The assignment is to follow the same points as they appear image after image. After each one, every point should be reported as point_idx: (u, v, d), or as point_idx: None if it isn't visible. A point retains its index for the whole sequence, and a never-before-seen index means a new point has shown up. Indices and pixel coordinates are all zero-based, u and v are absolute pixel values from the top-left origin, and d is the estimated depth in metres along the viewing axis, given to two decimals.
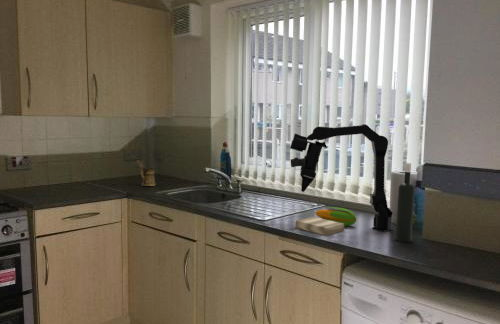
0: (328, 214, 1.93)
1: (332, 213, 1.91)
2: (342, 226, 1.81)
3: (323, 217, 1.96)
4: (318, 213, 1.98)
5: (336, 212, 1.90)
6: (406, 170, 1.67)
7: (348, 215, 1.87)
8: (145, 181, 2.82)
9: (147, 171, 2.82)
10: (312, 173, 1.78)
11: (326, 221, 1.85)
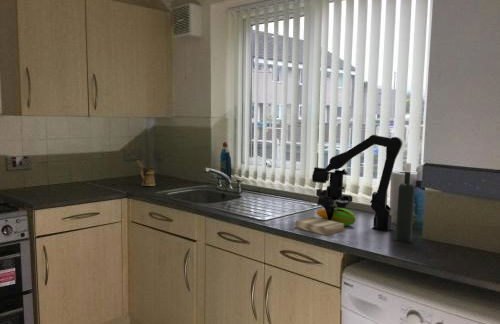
0: None
1: None
2: (342, 226, 1.81)
3: (323, 217, 1.96)
4: (319, 213, 1.99)
5: (335, 212, 1.90)
6: (406, 170, 1.67)
7: (347, 215, 1.87)
8: (145, 181, 2.82)
9: (147, 171, 2.82)
10: (325, 201, 1.86)
11: (326, 221, 1.85)
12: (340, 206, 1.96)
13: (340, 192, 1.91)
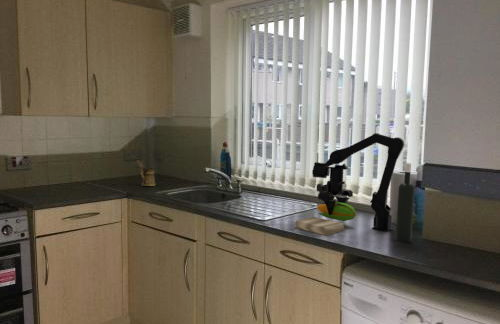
0: None
1: None
2: (342, 226, 1.81)
3: (324, 211, 1.96)
4: (319, 208, 1.98)
5: (336, 206, 1.90)
6: (406, 170, 1.67)
7: (347, 209, 1.87)
8: (145, 181, 2.82)
9: (147, 171, 2.82)
10: (325, 196, 1.86)
11: (326, 221, 1.85)
12: (340, 201, 1.96)
13: (340, 187, 1.91)
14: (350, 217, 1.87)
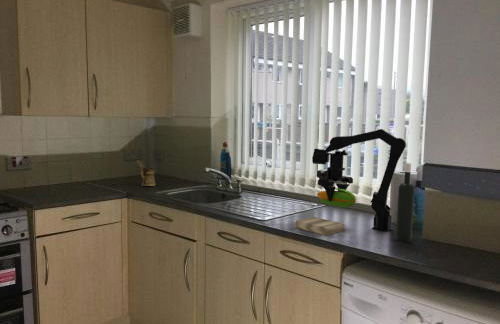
0: None
1: None
2: (342, 226, 1.81)
3: (324, 198, 1.95)
4: (319, 195, 1.97)
5: (336, 193, 1.89)
6: (406, 170, 1.67)
7: (347, 196, 1.86)
8: (145, 181, 2.82)
9: (147, 171, 2.82)
10: (325, 182, 1.85)
11: (326, 221, 1.85)
12: (340, 188, 1.95)
13: (340, 173, 1.90)
14: (350, 203, 1.86)
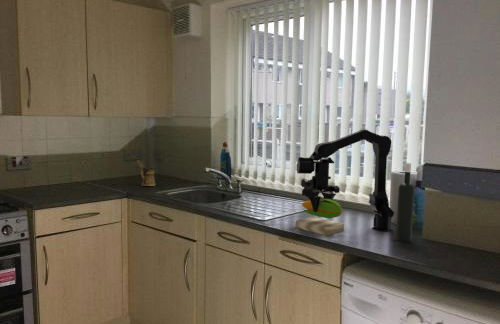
0: None
1: None
2: (342, 226, 1.81)
3: (309, 208, 1.85)
4: (304, 205, 1.87)
5: (321, 203, 1.79)
6: (406, 170, 1.67)
7: (333, 206, 1.76)
8: (145, 181, 2.82)
9: (147, 171, 2.82)
10: (310, 192, 1.75)
11: (326, 221, 1.85)
12: (326, 197, 1.85)
13: (326, 182, 1.80)
14: (336, 214, 1.76)
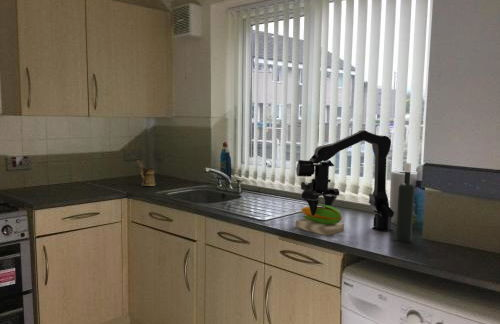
0: None
1: (316, 210, 1.81)
2: (342, 226, 1.81)
3: (308, 215, 1.85)
4: (304, 211, 1.87)
5: (320, 209, 1.79)
6: (406, 170, 1.67)
7: (332, 213, 1.76)
8: (145, 181, 2.82)
9: (147, 171, 2.82)
10: (309, 195, 1.75)
11: None
12: (328, 200, 1.86)
13: (326, 185, 1.80)
14: (335, 221, 1.76)
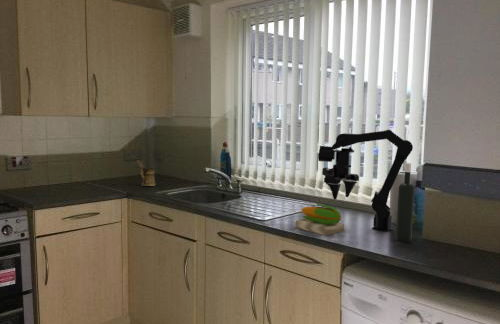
0: (313, 212, 1.83)
1: (316, 210, 1.81)
2: (342, 226, 1.81)
3: (308, 215, 1.85)
4: (303, 211, 1.87)
5: (320, 209, 1.79)
6: (406, 170, 1.67)
7: (332, 213, 1.76)
8: (145, 181, 2.82)
9: (147, 171, 2.82)
10: (332, 179, 1.82)
11: None
12: (348, 185, 1.94)
13: (347, 170, 1.88)
14: (335, 221, 1.76)
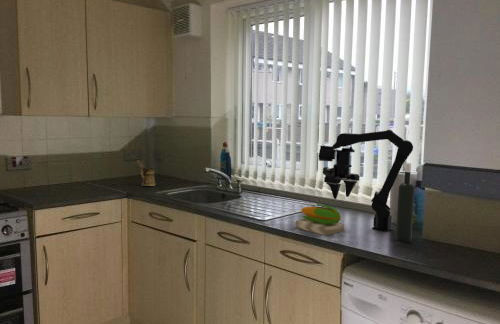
0: (313, 212, 1.83)
1: (316, 210, 1.80)
2: (342, 226, 1.81)
3: (308, 215, 1.85)
4: (303, 211, 1.88)
5: (320, 209, 1.79)
6: (406, 170, 1.67)
7: (331, 213, 1.76)
8: (145, 181, 2.82)
9: (147, 171, 2.82)
10: (332, 179, 1.83)
11: None
12: (348, 185, 1.94)
13: (347, 170, 1.88)
14: (334, 221, 1.76)
